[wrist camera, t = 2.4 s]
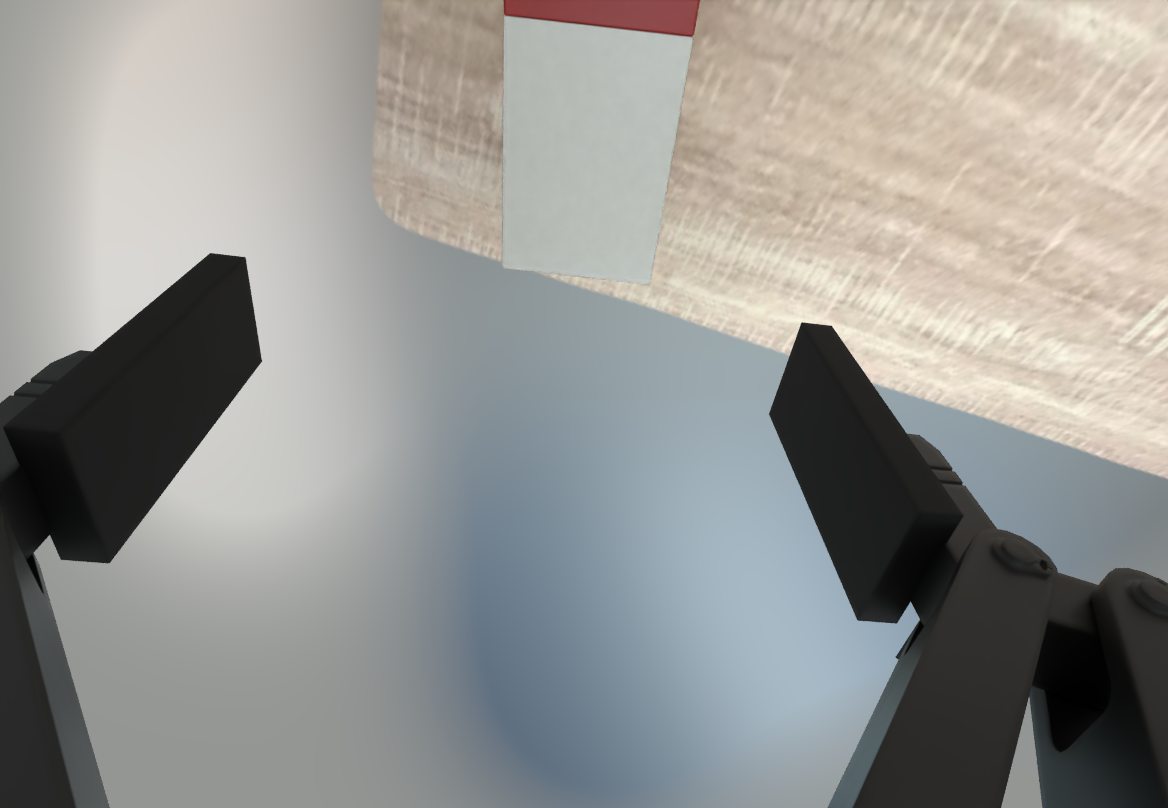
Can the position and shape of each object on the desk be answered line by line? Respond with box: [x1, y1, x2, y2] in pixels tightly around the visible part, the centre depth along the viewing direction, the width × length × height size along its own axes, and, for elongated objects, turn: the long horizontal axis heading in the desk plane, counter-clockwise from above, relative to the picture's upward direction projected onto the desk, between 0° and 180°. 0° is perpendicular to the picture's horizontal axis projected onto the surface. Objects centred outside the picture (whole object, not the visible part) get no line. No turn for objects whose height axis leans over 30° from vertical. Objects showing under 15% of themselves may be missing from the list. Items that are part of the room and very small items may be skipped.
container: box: [502, 0, 700, 285], centre depth 30 cm, size 12×7×8 cm, turn 175°
